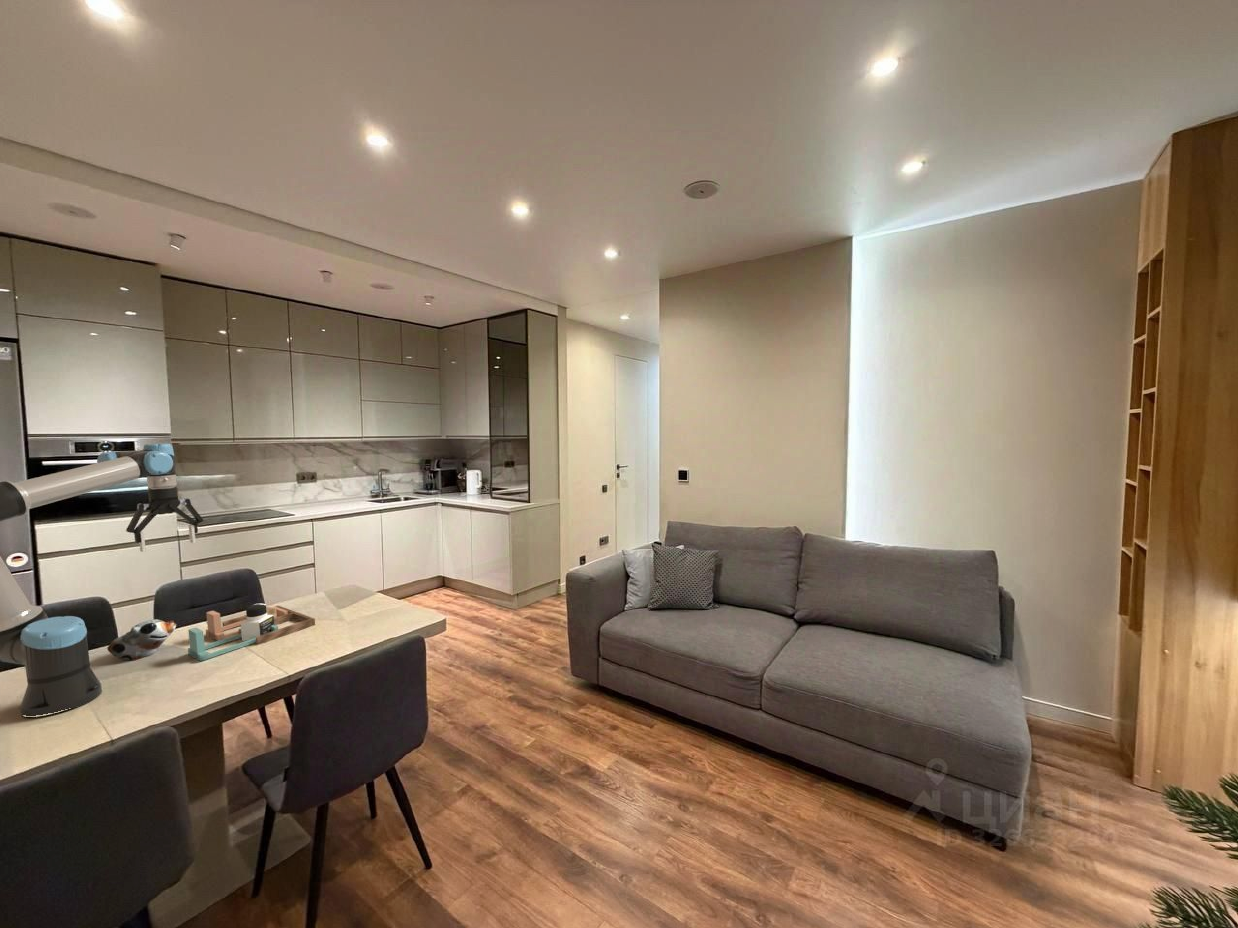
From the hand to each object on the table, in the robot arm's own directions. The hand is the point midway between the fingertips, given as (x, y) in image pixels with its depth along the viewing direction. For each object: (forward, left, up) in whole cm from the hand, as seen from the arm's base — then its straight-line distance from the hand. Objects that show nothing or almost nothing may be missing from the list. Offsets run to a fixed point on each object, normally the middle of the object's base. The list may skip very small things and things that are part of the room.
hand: (168, 546), depth 174 cm
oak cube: (+24, -9, -35) cm, 43 cm away
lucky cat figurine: (-9, -1, -35) cm, 36 cm away
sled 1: (+18, -9, -34) cm, 40 cm away
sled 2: (+9, -22, -34) cm, 42 cm away
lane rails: (+23, -15, -35) cm, 44 cm away
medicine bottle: (+16, -22, -35) cm, 45 cm away
